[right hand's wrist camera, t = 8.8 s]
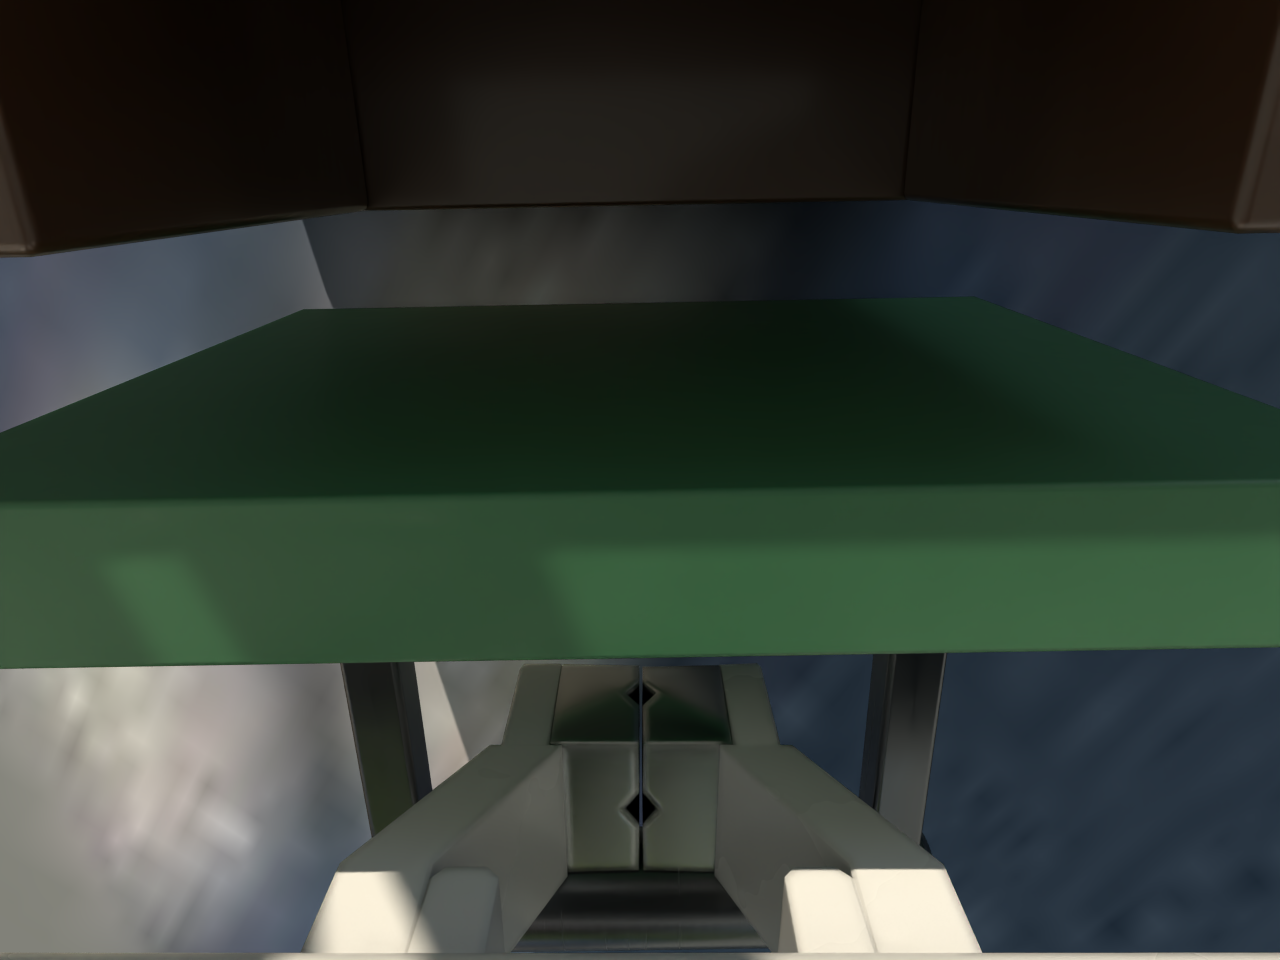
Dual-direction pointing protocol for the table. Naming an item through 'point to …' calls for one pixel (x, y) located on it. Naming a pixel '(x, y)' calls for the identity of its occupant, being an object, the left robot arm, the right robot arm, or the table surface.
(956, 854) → the table surface
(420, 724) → the drawer
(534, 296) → the table surface
